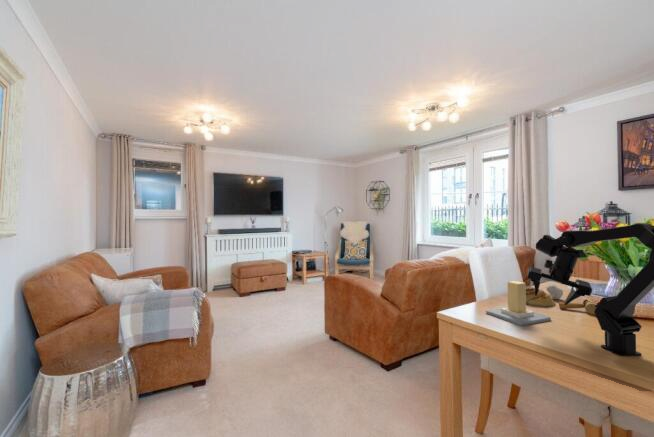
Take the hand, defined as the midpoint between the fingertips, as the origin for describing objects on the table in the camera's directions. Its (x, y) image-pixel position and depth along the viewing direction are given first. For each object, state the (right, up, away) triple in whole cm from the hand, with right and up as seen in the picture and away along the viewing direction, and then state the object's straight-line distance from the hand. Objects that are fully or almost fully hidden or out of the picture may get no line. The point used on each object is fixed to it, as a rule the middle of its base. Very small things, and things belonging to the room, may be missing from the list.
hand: (550, 299), depth 111 cm
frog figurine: (+29, -10, +35) cm, 47 cm away
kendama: (+27, -10, +16) cm, 33 cm away
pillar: (-5, -9, +11) cm, 15 cm away
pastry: (+16, -10, +31) cm, 36 cm away
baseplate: (-5, -10, +11) cm, 16 cm away
